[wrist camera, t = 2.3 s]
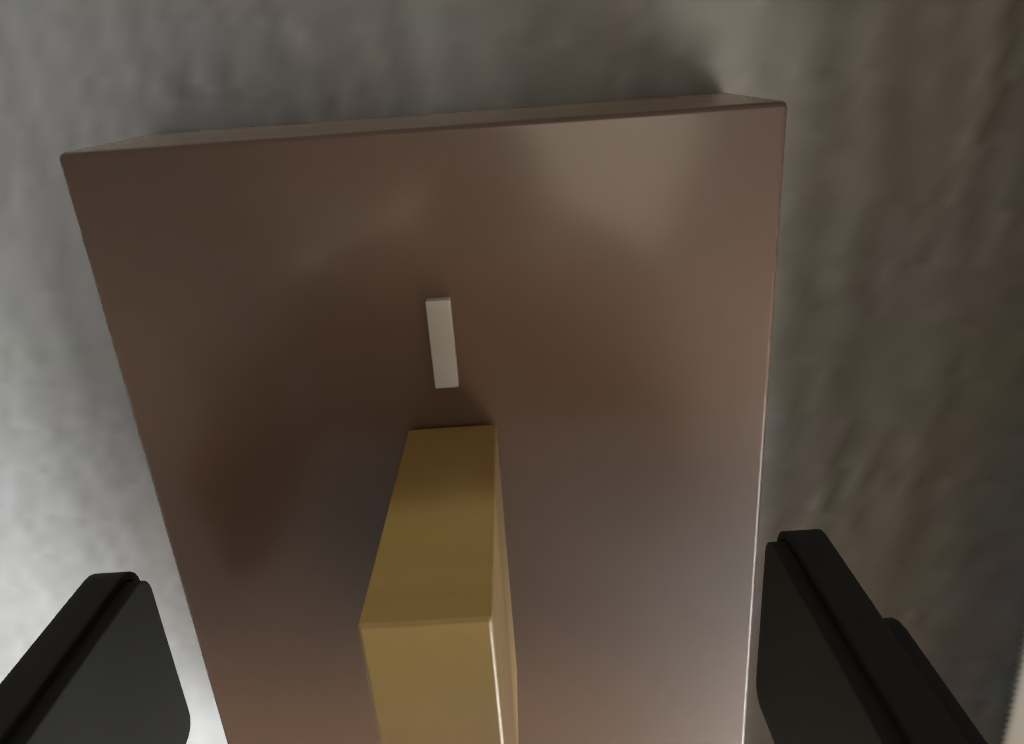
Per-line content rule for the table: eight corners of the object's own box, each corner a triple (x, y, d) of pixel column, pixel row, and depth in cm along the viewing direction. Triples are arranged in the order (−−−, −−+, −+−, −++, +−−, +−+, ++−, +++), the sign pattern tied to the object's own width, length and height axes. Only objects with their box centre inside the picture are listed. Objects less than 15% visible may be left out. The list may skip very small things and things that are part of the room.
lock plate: (150, 134, 13) (48, 154, 10) (727, 92, 13) (794, 101, 10) (293, 731, 18) (254, 858, 15) (704, 707, 18) (742, 830, 15)
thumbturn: (407, 428, 12) (352, 642, 8) (496, 422, 12) (491, 634, 8) (440, 672, 14) (411, 957, 9) (516, 667, 14) (523, 950, 9)
